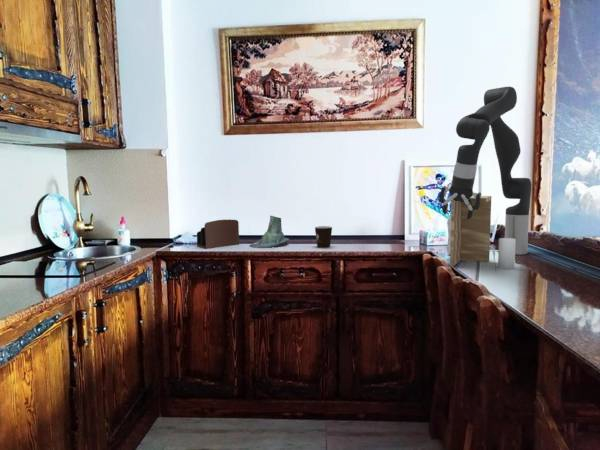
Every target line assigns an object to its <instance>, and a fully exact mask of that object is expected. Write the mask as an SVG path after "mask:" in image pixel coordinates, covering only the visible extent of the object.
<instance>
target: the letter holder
mask: <svg viewBox="0 0 600 450" xmlns="http://www.w3.org/2000/svg"><path fill="white" fill-rule="evenodd" d="M239 224H240V223H239V221H238V220H237V219H217V220H212V221H207V222H206V223H204V226H203V227H201V228H200V230H199V231H197V232H196V246H197V247H196V248H201V249H205V250H209V249H215V248H223V247H229V246H239V245H240V225H239Z"/></svg>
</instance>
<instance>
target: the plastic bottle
mask: <svg viewBox="0 0 600 450" xmlns="http://www.w3.org/2000/svg"><path fill="white" fill-rule="evenodd" d="M446 222H447V223H446V224H447V231H448V232H447V235H448V237H447V245H446V253H447V254H448V255H449V256H450V244H451V215H450V216H449V217H448V219H447V221H446Z"/></svg>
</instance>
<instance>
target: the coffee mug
mask: <svg viewBox="0 0 600 450" xmlns="http://www.w3.org/2000/svg"><path fill="white" fill-rule="evenodd" d="M314 231H315V238H316V239H315V240H316V245H317V248H318V249H327V248H331V243H332V242H331V241H332V232H333V226H329V225H328V226H325V225H324V226H323V225H321V226H315V227H314Z"/></svg>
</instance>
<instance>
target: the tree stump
mask: <svg viewBox="0 0 600 450" xmlns="http://www.w3.org/2000/svg"><path fill="white" fill-rule="evenodd" d="M282 228H283V227H282V218H281V217H278V216H274V215H269V223H268V227H267V231H265V232H264V234H263V235H262V236H261V238H259V240H257V241H256V242H253V243H250V245H249V247H251V248H256V249H271V248H272V247H274V248H278V246H279V247H281V246H284V245H286V244H287V242H289V240H290V239H289V238H287V237H286V236H285V235H284V234H285V233H283V229H282Z"/></svg>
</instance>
